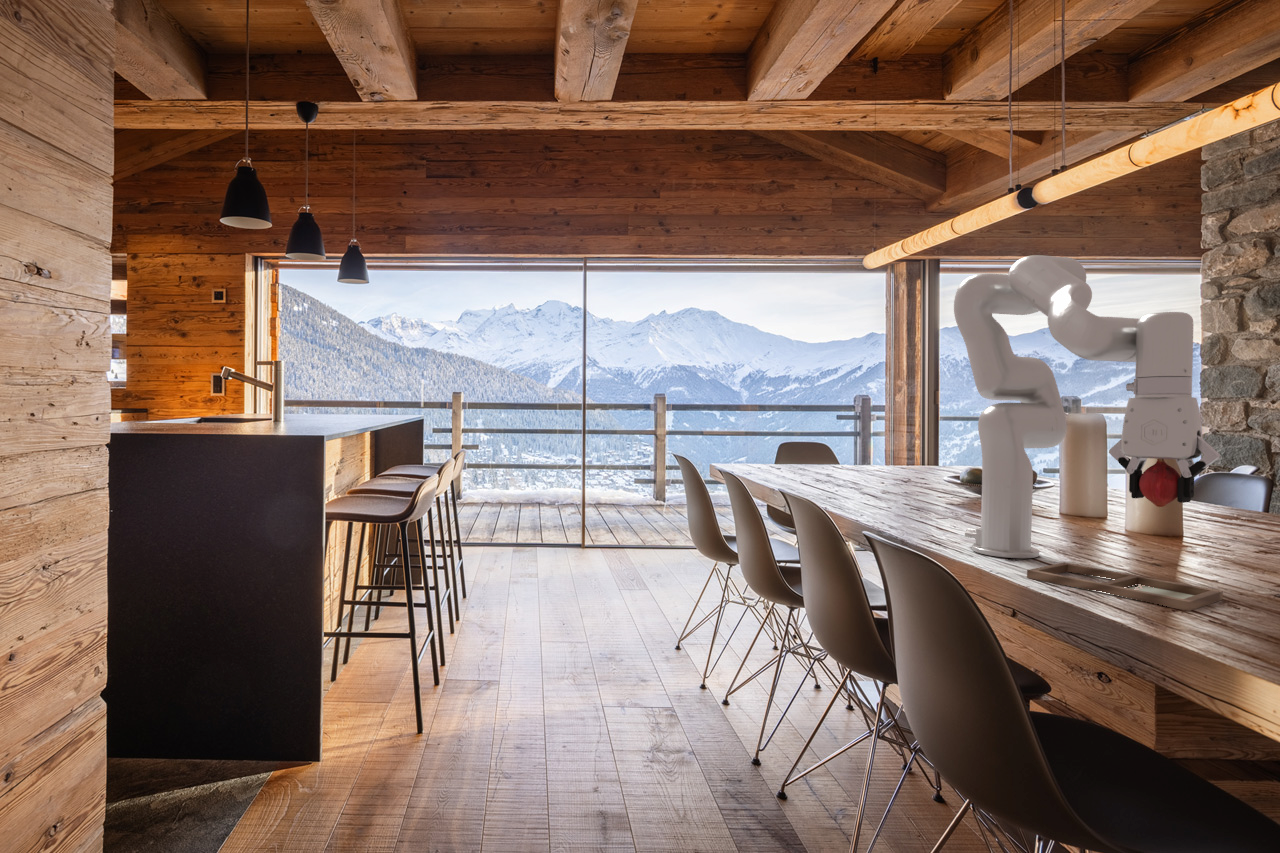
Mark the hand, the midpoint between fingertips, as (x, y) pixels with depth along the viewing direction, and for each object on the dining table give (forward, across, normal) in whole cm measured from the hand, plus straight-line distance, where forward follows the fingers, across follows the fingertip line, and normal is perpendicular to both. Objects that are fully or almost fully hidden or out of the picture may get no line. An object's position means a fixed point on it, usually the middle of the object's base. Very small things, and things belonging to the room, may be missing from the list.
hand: (1160, 498), depth 118 cm
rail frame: (+16, -6, 0) cm, 17 cm away
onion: (+2, 0, 0) cm, 2 cm away
